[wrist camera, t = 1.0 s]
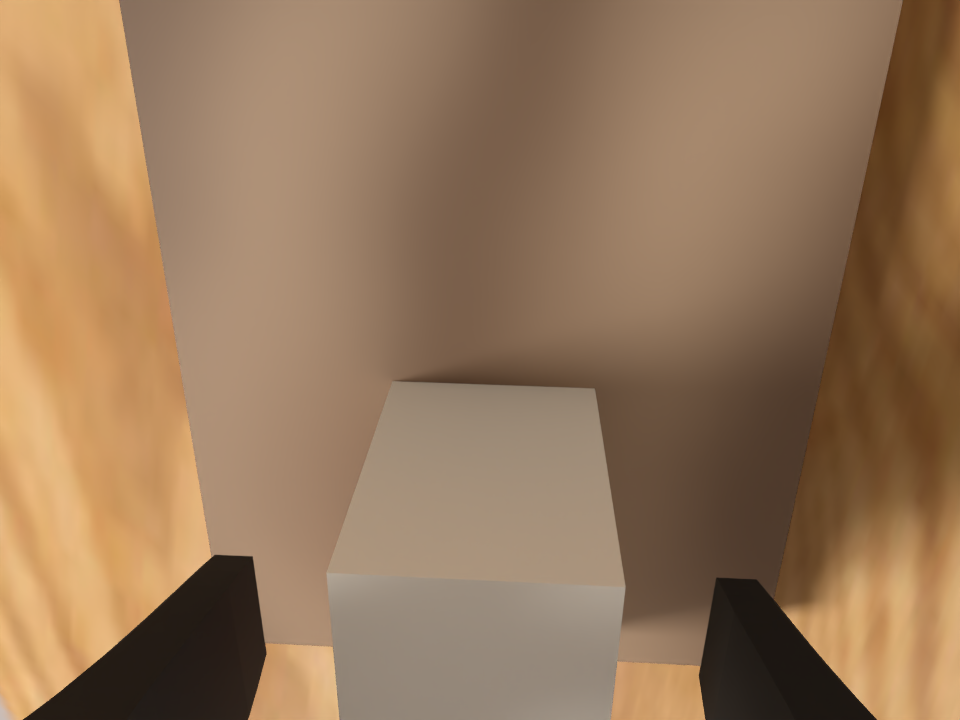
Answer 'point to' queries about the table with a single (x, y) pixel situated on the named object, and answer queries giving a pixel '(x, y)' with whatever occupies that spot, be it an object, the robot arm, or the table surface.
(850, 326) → the table surface
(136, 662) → the robot arm
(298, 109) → the shelf board
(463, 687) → the carton
